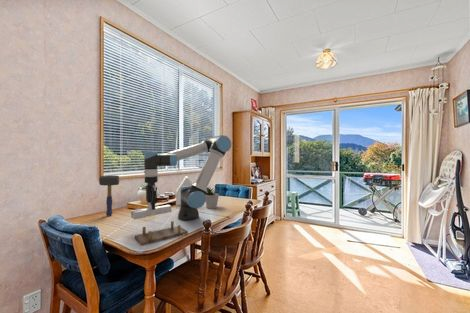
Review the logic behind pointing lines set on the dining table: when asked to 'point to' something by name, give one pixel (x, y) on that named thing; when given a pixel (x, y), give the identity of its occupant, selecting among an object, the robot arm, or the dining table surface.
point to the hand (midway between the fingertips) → (151, 213)
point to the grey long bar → (146, 212)
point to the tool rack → (160, 234)
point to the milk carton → (185, 182)
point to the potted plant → (211, 198)
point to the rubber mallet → (109, 189)
